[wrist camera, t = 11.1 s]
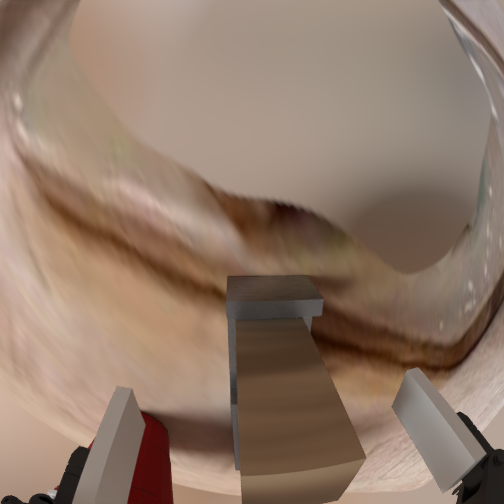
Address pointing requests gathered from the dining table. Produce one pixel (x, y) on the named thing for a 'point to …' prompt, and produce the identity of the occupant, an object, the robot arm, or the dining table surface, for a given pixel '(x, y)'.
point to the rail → (265, 315)
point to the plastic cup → (149, 467)
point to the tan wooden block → (290, 418)
